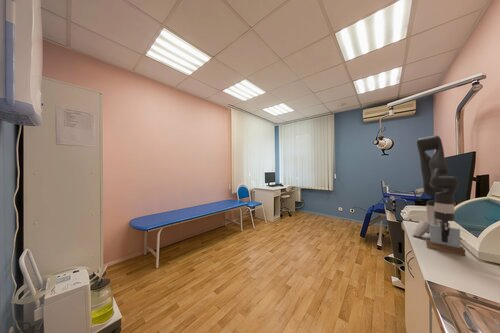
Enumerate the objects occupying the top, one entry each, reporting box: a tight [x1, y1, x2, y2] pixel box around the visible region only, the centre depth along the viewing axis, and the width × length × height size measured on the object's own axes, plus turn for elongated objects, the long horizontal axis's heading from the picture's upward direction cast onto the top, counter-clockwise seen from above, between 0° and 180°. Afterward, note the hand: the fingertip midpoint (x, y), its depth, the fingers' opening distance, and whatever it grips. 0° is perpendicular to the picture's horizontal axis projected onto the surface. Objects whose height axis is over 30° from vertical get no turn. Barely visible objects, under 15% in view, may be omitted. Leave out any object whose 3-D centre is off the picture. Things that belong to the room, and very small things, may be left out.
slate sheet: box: [429, 224, 461, 248], centre depth 95 cm, size 2×11×13 cm, turn 47°
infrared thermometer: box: [412, 219, 430, 238], centre depth 112 cm, size 5×12×15 cm
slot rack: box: [425, 239, 466, 257], centre depth 95 cm, size 5×14×3 cm, turn 47°
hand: (444, 241), depth 95 cm, fingers closed on slate sheet
